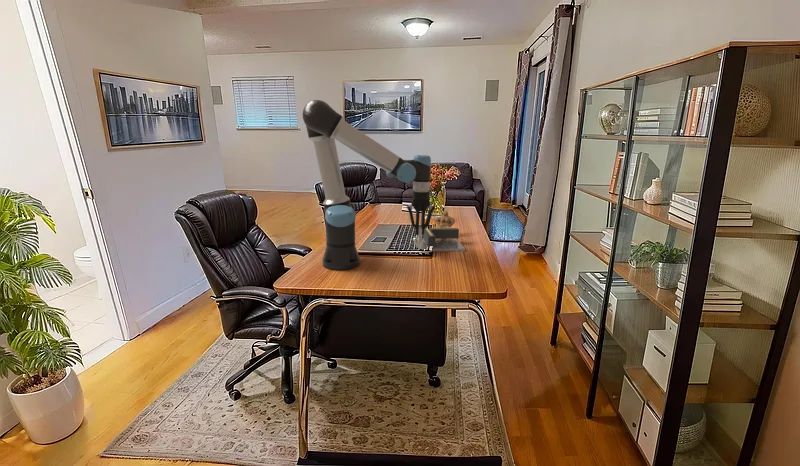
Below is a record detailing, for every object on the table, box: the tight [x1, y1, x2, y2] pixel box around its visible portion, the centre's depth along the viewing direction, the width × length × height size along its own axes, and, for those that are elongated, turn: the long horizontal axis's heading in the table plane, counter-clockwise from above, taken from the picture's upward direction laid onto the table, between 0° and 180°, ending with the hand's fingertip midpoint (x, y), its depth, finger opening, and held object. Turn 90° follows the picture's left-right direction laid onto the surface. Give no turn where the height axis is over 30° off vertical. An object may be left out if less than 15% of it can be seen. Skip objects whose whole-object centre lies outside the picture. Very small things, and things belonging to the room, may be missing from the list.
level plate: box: [412, 236, 466, 252], centre depth 181 cm, size 22×16×2 cm
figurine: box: [434, 210, 456, 228], centre depth 199 cm, size 11×9×15 cm
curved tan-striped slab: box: [429, 227, 460, 240], centre depth 186 cm, size 3×14×6 cm, turn 97°
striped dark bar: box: [422, 227, 436, 246], centre depth 179 cm, size 3×14×6 cm, turn 7°
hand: (419, 241), depth 172 cm, fingers closed
